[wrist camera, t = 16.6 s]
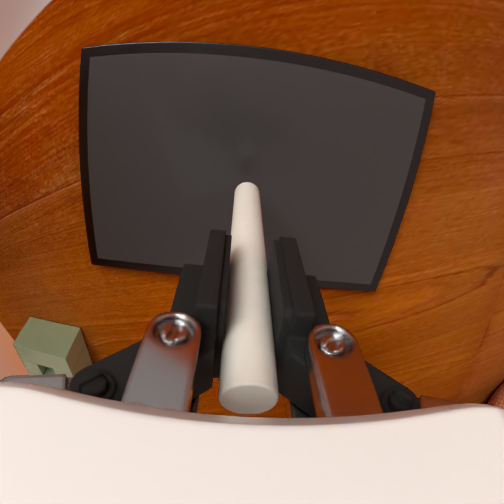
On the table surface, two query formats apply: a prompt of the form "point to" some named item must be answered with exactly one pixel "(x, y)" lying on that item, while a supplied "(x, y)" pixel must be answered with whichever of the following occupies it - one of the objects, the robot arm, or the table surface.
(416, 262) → the table surface
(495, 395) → the planter
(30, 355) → the stylus holder
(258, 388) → the stylus
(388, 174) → the tablet
